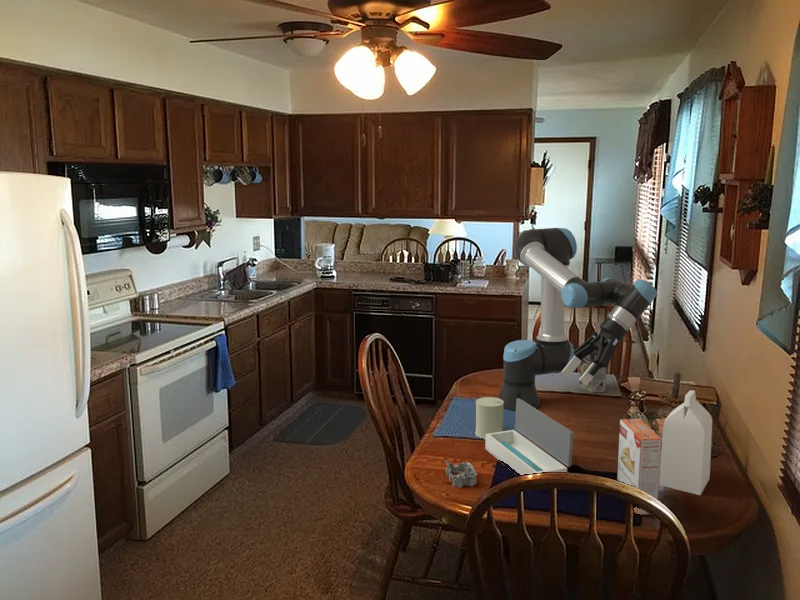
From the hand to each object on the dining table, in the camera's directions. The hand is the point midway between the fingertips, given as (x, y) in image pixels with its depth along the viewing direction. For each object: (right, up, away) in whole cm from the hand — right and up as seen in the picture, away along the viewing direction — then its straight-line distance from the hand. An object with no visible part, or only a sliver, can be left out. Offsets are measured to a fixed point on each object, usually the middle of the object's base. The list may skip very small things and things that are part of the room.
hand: (573, 378), depth 209 cm
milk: (+27, -27, -15) cm, 41 cm away
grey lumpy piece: (-35, -28, -12) cm, 46 cm away
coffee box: (+23, -12, +64) cm, 69 cm away
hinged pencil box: (-16, -25, -4) cm, 30 cm away
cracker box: (+10, -30, -27) cm, 41 cm away
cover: (-11, -15, -4) cm, 19 cm away
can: (-23, -21, +19) cm, 37 cm away
